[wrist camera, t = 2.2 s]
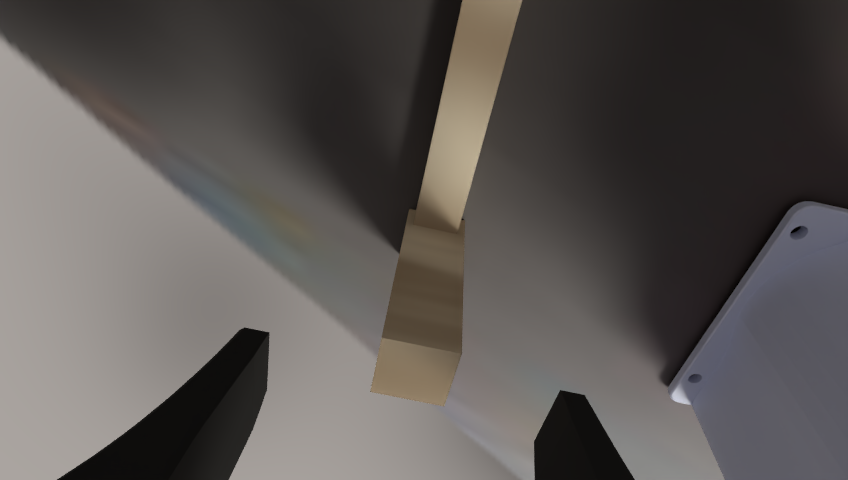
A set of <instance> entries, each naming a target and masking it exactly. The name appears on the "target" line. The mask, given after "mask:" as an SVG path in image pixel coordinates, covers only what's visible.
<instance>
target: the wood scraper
mask: <svg viewBox="0 0 848 480" xmlns="http://www.w3.org/2000/svg"><path fill="white" fill-rule="evenodd" d="M521 3H522V0H462V3H461V8H460V13H459V17H458V22H457V26H456V31H455V35H454V40H453V44H452V49H451V54H450V58H449V63H448V67H447V72H446V76H445V81H444V86H443V90H442V95H441V99H440V104H439V108H438V113H437V118H436V122H435V127H434V131H433V136H432V140H431V145H430V149H429V154H428V159H427V163H426V168H425V172H424V177H423V181H422V186H421V191H420V195H419V200H418V204H417V209H416V210H412V209H409V212H408V217H407V221H406V226H405V231H404V236H403V240H402V245H401V250H400V254H399V259H398V264H397V268H396V273H395V278H394V282H393V287H392V292H391V297H390V301H389V306H388V311H387V315H386V320H385V325H384V329H383V334H382V339H381V344H380V348H379V353H378V358H377V363H376V367H375V372H374V377H373V382H372V387H371V391H370V392H374V393H380V394H384V395H389V396H394V397H399V398H404V399H409V400H414V401H419V402H424V403H430V404H435V405H440V406H444V405H445V402H446V399H447V396H448V393H449V390H450V387H451V384H452V381H453V378H454V375H455V372H456V369H457V366H458V363H459V360H460V357H461V354H462V319H463V276H464V233H465V221H464V220H461V219H462V215H463V211H464V208H465V204H466V201H467V197H468V193H469V190H470V186H471V183H472V179H473V175H474V172H475V168H476V165H477V161H478V157H479V154H480V150H481V147H482V143H483V139H484V136H485V132H486V129H487V125H488V121H489V118H490V114H491V111H492V107H493V103H494V100H495V96H496V93H497V89H498V85H499V82H500V78H501V75H502V71H503V67H504V64H505V60H506V57H507V53H508V49H509V46H510V42H511V39H512V35H513V31H514V28H515V24H516V21H517V17H518V14H519V10H520V6H521Z"/></svg>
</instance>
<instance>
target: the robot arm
mask: <svg viewBox="0 0 848 480" xmlns="http://www.w3.org/2000/svg"><path fill="white" fill-rule="evenodd" d="M798 226H801V228H800V229H799V230H798V231H797V232H794V233H791V231H792V230H793V229H794V228H796V227H798ZM268 354H269V332H264V331H259V330H254V329H249V328H243V329H241V330H239V331H238V332H237V333H236V334H235V336H234V337H233V338H232V339H231V340H230V341H229V342H228V343H227V344H226V345H225V346H224V347H223V348H222V349H221V350H220V351H219V352H218V353H217V354H216V355H215V356H214V357H213V358H212V359H211V360H210V361H209V362H208V363H207V364H206V365H205V366H203V367H202V368H201V370H199V371H198V372H197V373H196V374H195V375H194V376H193V377H192V378H190V379H189V380H188V381H187V382H186V383H185V384H184V385H183V386H182V387H180V388H179V389H178V390H177V391H176V392H175V393H174V394H173V395H171V396H170V397H169V398H168V399H167V400H165V401H164V402H163V403H162V404H161V405H159V406H158V407H157V408H156V409H154V410H153V411H152V412H151V413H150V414H148V415H147V416H146V417H145V418H143V419H142V420H141V421H140V422H138V423H137V424H136V425H135V426H133V427H132V428H131V429H129V430H128V431H127V432H125V433H124V434H123V435H122V436H120V437H119V438H117V439H116V440H115V441H113V442H112V443H111V444H109V445H108V446H107V447H105V448H104V449H102V450H101V451H99V452H98V453H97V454H95V455H94V456H92V457H91V458H89V459H88V460H86V461H85V462H83V463H82V464H80V465H79V466H77V467H76V468H74V469H73V470H71V471H70V472H68V473H67V474H65V475H64V476H62V477H61V478H59V479H57V480H229V478H230V476H231V474H232V472H233V469H234V467H235V465H236V463H237V461H238V459H239V457H240V455H241V453H242V451H243V449H244V447H245V445H246V443H247V440H248V438H249V436H250V434H251V431H252V430H253V427H254V424H255V422H256V419H257V416H258V413H259V411H260V408H261V405H262V402H263V399H264V396H265V393H266V391H267V376H268ZM693 374H696V375H693ZM691 375H693V376H691ZM668 393H669V395H670V397H671V399H672V400H673V401H676V402H679V403H684V404H689V405H692V407H693V409H694V411H695V414H696V416H697V418H698V420H699V423H700V425H701V427H702V429H703V432H704V434H705V436H706V438H707V441H708V443H709V445H710V447H711V450H712V452H713V454H714V456H715V458H716V461H717V463H718V465H719V467H720V470H721V472H722V474H723V476H724V479H725V480H848V209H844V208H840V207H835V206H831V205H826V204H822V203H817V202H813V201H804V202H800V203H798V204H796V205H794V206H792V207H791V208H790V210H789V211H788V212H787V213H786V215H785V216H784V218H783V219H782V221H781V222H780V223H779V225H778V226H777V228H776V229H775V231H774V232H773V234H772V235H771V237H770V238H769V240H768V241H767V243H766V244H765V246H764V247H763V248H762V250H761V251H760V253H759V254H758V256H757V257H756V259H755V260H754V262H753V263H752V265H751V266H750V268H749V269H748V271H747V272H746V273H745V275H744V276H743V278H742V279H741V281H740V282H739V284H738V285H737V287H736V288H735V290H734V291H733V293H732V294H731V296H730V297H729V298H728V300H727V301H726V303H725V304H724V306H723V307H722V309H721V310H720V312H719V313H718V315H717V316H716V318H715V319H714V321H713V322H712V323H711V325H710V326H709V328H708V329H707V331H706V332H705V334H704V335H703V337H702V338H701V340H700V341H699V343H698V344H697V346H696V347H695V348H694V350H693V351H692V353H691V354H690V356H689V357H688V359H687V360H686V362H685V363H684V365H683V366H682V368H681V369H680V371H679V372H678V373H677V375H676V376H675V378H674V379H673V381H672V382H671V384H670V385H669V387H668ZM534 465H535V480H635V479H634V478H633V476H632V474H631V473H630V471H629V470H628V468H627V467H626V465H625V463H624V462H623V460H622V458H621V457H620V455H619V453H618V452H617V450H616V448H615V447H614V445H613V443H612V442H611V440H610V438H609V436H608V435H607V433H606V431H605V430H604V428H603V426H602V424H601V423H600V421H599V419H598V417H597V416H596V414H595V412H594V411H593V409H592V407H591V405H590V404H589V402H588V400H587V399H586V397H585V395H582V394H577V393H572V392H567V391H561V390H560V392H559V394H558V396H557V398H556V400H555V402H554V404H553V406H552V408H551V409H550V411H549V413H548V415H547V417H546V419H545V421H544V423H543V425H542V427H541V429H540V431H539V433H538V435H537V437H536V439H535V441H534Z"/></svg>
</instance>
